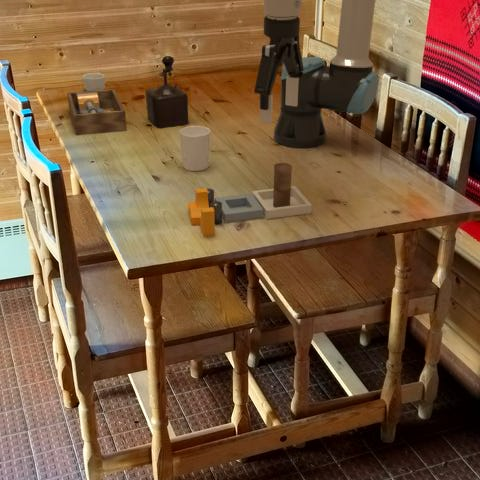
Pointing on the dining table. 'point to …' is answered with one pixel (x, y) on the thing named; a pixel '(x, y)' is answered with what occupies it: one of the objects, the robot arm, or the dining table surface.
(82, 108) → the vise
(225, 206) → the jig block
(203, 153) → the white cup
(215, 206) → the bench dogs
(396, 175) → the dining table surface
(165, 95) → the coffee grinder
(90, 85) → the teacup
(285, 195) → the dowel
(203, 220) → the pipe clamp
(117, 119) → the tool caddy
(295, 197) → the tray
